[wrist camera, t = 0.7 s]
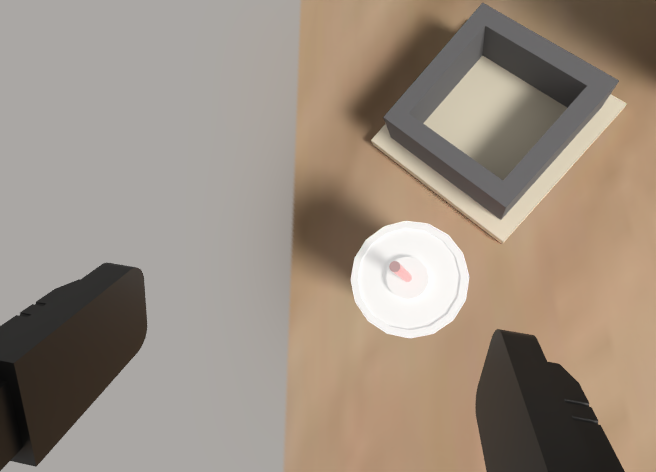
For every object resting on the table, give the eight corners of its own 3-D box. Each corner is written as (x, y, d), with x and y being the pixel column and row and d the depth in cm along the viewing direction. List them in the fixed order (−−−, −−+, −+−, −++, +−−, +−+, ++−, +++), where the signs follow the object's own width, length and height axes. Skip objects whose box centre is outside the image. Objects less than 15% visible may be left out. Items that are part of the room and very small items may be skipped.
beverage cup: (464, 245, 32) (467, 189, 19) (469, 334, 31) (476, 342, 18) (377, 249, 34) (324, 201, 20) (379, 334, 32) (324, 341, 19)
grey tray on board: (477, 25, 35) (480, -17, 30) (621, 110, 31) (647, 76, 26) (373, 145, 35) (361, 120, 31) (502, 244, 31) (508, 231, 27)
